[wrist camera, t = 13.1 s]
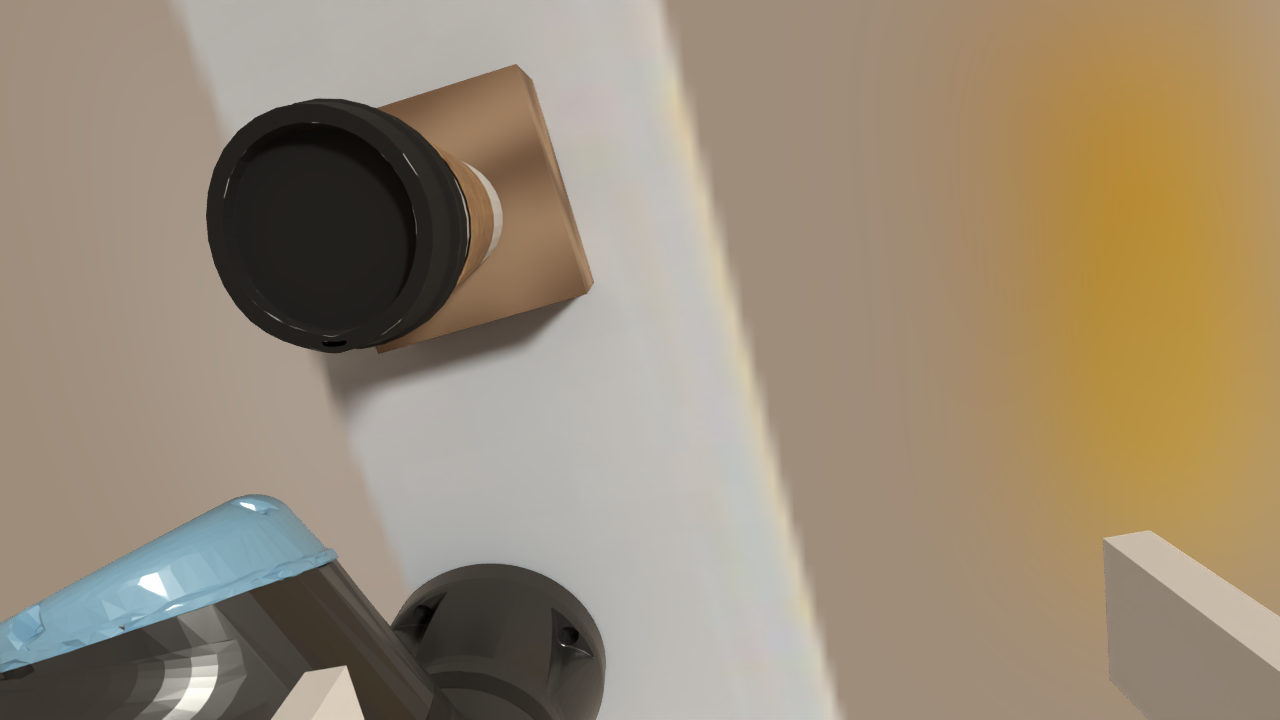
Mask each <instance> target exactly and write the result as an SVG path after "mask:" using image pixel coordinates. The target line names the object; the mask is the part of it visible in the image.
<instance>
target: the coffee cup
mask: <svg viewBox="0 0 1280 720" xmlns="http://www.w3.org/2000/svg"><path fill="white" fill-rule="evenodd" d="M206 220H207V231H208V241H209V244H210V248H211V253H212V257H213V260H214V264H215V266H216V269H217V271H218V273H219V276H220V278H221V280H222V283H223V285H224V287H225V288H226V290H227V292H228V293H229V295H230V296H231V298H232V300H233V301H234V303H235V304H236V306H237V307H238V308H239V309H240V310H241V311H242V312H243V313H244V315H245V316H246V317H247V318H248V319H249V320H250V321H251V322H252V323H254V324H255V325H257V326H258V327H259V328H261V329H262V330H263V331H265V332H266V333H269V334H270V335H272V336H274V337H276V338H278V339H280V340H282V341H285V342H288V343H291V344H294V345H296V346H300V347H304V348H307V349H311V350H316V351H321V352H326V353H341V352H345V351H349V350H352V349H363V348H368V347H374V346H379V345H384V344H387V343H389V342H391V341H394V340H396V339H399V338H401V337H404V336H405V335H407V334H408V333H410V332H412V331H413V330H415V329H417V328H418V327H420V326H421V325H423V324H424V323H426V322H427V321H429V320H430V319H431V318H432V317H433V316H434V315H435V314H436V313H437V312H438V311H439V310H440V309H441V308H442V307H443V306H444V304H445V303H446V301H447V300H448V298H449V297H450V295H451V293H452V292H453V291H454V290H455V289H456V288H457V287H458V286H459V285H460V284H461V283H462V282H463V281H464V280H465V279H466V278H467V277H468V276H469V275H470V274H471V273H472V272H473V271H474V270H475V269H476V268H477V267H478V266H479V265H481V264H482V263H483V262H484V261H485V260H486V259H487V258H488V257H489V256H490V255H491V254H492V252H493V250H494V249H495V247H496V246H497V244H498V241H499V238H500V236H501V231H502V226H503V212H502V208H501V203H500V200H499V198H498V196H497V193H496V191H495V189H494V188H493V186H492V185H491V183H490V182H489V181H488V180H487V179H486V178H485V176H484V175H483V174H482V173H481V172H479V171H478V170H476V169H475V168H473V167H472V166H470V165H469V164H467V163H464V162H462V161H460V160H459V159H457V158H456V157H454V156H453V155H451V154H449V153H448V152H446V151H444V150H443V149H441V148H439V147H438V146H436V145H435V144H433V143H431V142H430V141H428V140H426V139H425V138H424V137H423V136H422V135H421V134H420V133H419V132H418V131H416V130H415V129H413V128H412V127H411V126H409V125H408V124H406V123H405V122H403V121H402V120H400V119H399V118H397V117H395V116H393V115H390V114H388V113H386V112H383V111H381V110H379V109H377V108H373V107H370V106H368V105H365V104H360V103H356V102H352V101H348V100H344V99H313V100H308V101H303V102H298V103H294V104H292V105H288V106H283V107H278V108H275V109H273V110H271V111H268V112H266V113H264V114H262V115H260V116H258V117H256V118H254V119H253V120H252V121H250V122H249V123H248V124H247V125H245V126H244V127H243V128H241V129H240V130H239V131H238V132H237V133H236V134H235V136H234V137H233V138H232V139H231V141H230V142H229V143H228V144H227V145H226V147H225V148H224V150H223V152H222V154H221V156H220V158H219V160H218V162H217V164H216V166H215V168H214V171H213V175H212V178H211V182H210V186H209V191H208V199H207V212H206Z"/></svg>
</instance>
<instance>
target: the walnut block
mask: <svg viewBox="0 0 1280 720" xmlns="http://www.w3.org/2000/svg"><path fill="white" fill-rule="evenodd" d="M377 109H379V110H381V111H383V112H386V113H388V114H390V115H393V116H395V117H397V118H399V119H400V120H402V121H403V122H405V123H406V124H408V125H409V126H411V127H412V128H413V129H415V130H416V131H418V132H419V133H420V134H421V135H422V136H423V137H424V138H425V139H426V140H428V141H430V142H431V143H433V144H435V145H436V146H438V147H439V148H441V149H443V150H444V151H446V152H448V153H449V154H451V155H453V156H454V157H456V158H457V159H459V160H460V161H462V162H464V163H467V164H469V165H470V166H472V167H473V168H475V169H476V170H478V171H479V172H481V173H482V174H483V175H484V176H485V178H486V179H487V180H488V181H489V182H490V183H491V185H492V186H493V188H494V189H495V191H496V193H497V196H498V198H499V200H500V203H501V208H502V212H503V226H502V231H501V236H500V238H499V241H498V244H497V246H496V247H495V249H494V250H493V252H492V254H491V255H490V256H489V257H488V258H487V259H486V260H485V261H484V262H483V263H482V264H481V265H479V266H478V267H477V268H476V269H475V270H474V271H473V272H472V273H471V274H470V275H469V276H468V277H467V278H466V279H465V280H464V281H463V282H462V283H461V284H460V285H459V286H458V287H457V288H456V289H455V290H454V291H453V292H452V293H451V295H450V297H449V298H448V300H447V301H446V303H445V304H444V306H443V307H442V308H441V309H440V310H439V311H438V312H437V313H436V314H435V315H434V316H433V317H432V318H431V319H430V320H429V321H427V322H426V323H424V324H423V325H421V326H420V327H418V328H417V329H415V330H413V331H412V332H410V333H408V334H407V335H405V336H404V337H401V338H399V339H396V340H394V341H391V342H389V343H387V344H384V345H379V346H376V349H377V351H378V354H380V353H383V352H387V351H390V350H393V349H397V348H400V347H404V346H407V345H411V344H414V343H418V342H421V341H425V340H428V339H432V338H435V337H439V336H442V335H446V334H449V333H453V332H456V331H459V330H463V329H466V328H470V327H473V326H477V325H480V324H484V323H487V322H491V321H494V320H498V319H501V318H505V317H508V316H512V315H515V314H518V313H522V312H525V311H529V310H532V309H536V308H539V307H543V306H546V305H550V304H553V303H557V302H560V301H564V300H567V299H571V298H574V297H578V296H581V295H584V294H587V293H588V291H589V290H590V288H591V286H592V285H593V283H594V281H593V278H592V275H591V271H590V268H589V265H588V261H587V258H586V255H585V252H584V248H583V245H582V242H581V238H580V235H579V232H578V229H577V225H576V222H575V219H574V215H573V212H572V209H571V206H570V202H569V199H568V196H567V192H566V189H565V186H564V183H563V179H562V176H561V173H560V169H559V166H558V163H557V160H556V156H555V153H554V150H553V147H552V143H551V140H550V137H549V133H548V130H547V127H546V124H545V120H544V117H543V114H542V110H541V107H540V104H539V101H538V97H537V94H536V91H535V87H534V84H533V81H532V79H531V78H530V77H529V76H528V75H527V74H526V73H525V72H524V71H523V70H522V69H521V68H520V67H519V66H518V65H517V64H515V65H512V66H508V67H505V68H502V69H499V70H496V71H493V72H490V73H486V74H483V75H480V76H477V77H474V78H471V79H467V80H464V81H461V82H458V83H455V84H452V85H448V86H445V87H442V88H439V89H436V90H433V91H429V92H426V93H423V94H420V95H417V96H414V97H410V98H407V99H404V100H401V101H398V102H395V103H391V104H388V105H385V106H382V107H379V108H377Z"/></svg>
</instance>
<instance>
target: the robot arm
mask: <svg viewBox="0 0 1280 720" xmlns="http://www.w3.org/2000/svg"><path fill="white" fill-rule="evenodd" d="M1103 553H1104V573H1105V593H1106V613H1107V632H1108V633H1107V634H1108V653H1109V674H1110V680H1111V681H1112V682H1113V684H1114V685H1115V686H1116V687H1117V688H1118V689H1119V690H1120V691H1121V692H1122V693H1123V694H1124V695H1125V696H1126V697H1127V698H1128V699H1129V700H1130V701H1131V702H1132V703H1133V705H1134V706H1135V707H1136V708H1137V709H1138V710H1139V711H1140V712H1141V713H1142V714H1143V715H1144V716H1145V717H1146V718H1147V719H1148V720H1280V617H1279V616H1278V615H1276V614H1274V613H1273V612H1272V611H1270V610H1268V609H1267V608H1265V607H1264V606H1263V605H1261V604H1259V603H1258V602H1257V601H1255V600H1254V599H1252V598H1250V597H1249V596H1248V595H1246V594H1245V593H1243V592H1241V591H1240V590H1239V589H1237V588H1236V587H1234V586H1232V585H1231V584H1230V583H1228V582H1226V581H1225V580H1224V579H1222V578H1220V577H1219V576H1218V575H1216V574H1215V573H1213V572H1212V571H1210V570H1208V569H1207V568H1205V567H1204V566H1203V565H1201V564H1200V563H1198V562H1197V561H1195V560H1193V559H1192V558H1191V557H1189V556H1188V555H1186V554H1184V553H1183V552H1182V551H1180V550H1178V549H1177V548H1176V547H1174V546H1173V545H1171V544H1169V543H1168V542H1167V541H1165V540H1164V539H1162V538H1161V537H1159V536H1158V535H1156V534H1155V533H1153V532H1151V531H1150V530H1148V531H1142V532H1136V533H1131V534H1125V535H1119V536H1113V537H1107V538H1103ZM337 557H338V555H337V554H336V552H335V551H334V550H333V549H328V548H326V547H325V546H324V545H323V544H322V543H321V542H320V540H319V539H318V538H317V537H316V536H315V535H314V534H313V533H312V532H311V531H310V530H309V529H308V528H307V527H306V525H305V524H304V523H303V522H302V521H301V520H300V519H299V518H298V517H297V516H296V515H295V514H294V513H293V511H292V510H291V509H290V508H289V507H288V506H287V505H286V504H284V503H283V502H281V501H280V500H278V499H276V498H273V497H270V496H266V495H246V496H241V497H237V498H234V499H232V500H230V501H228V502H226V503H224V504H222V505H220V506H218V507H216V508H214V509H212V510H210V511H208V512H206V513H204V514H202V515H201V516H198V517H197V518H195V519H193V520H191V521H189V522H187V523H185V524H183V525H181V526H180V527H178V528H176V529H174V530H172V531H170V532H168V533H166V534H164V535H162V536H161V537H159V538H157V539H155V540H153V541H151V542H149V543H147V544H145V545H144V546H142V547H140V548H138V549H136V550H134V551H132V552H130V553H129V554H127V555H125V556H123V557H121V558H119V559H117V560H116V561H114V562H112V563H110V564H108V565H106V566H104V567H102V568H101V569H99V570H97V571H95V572H93V573H91V574H89V575H88V576H86V577H84V578H82V579H80V580H78V581H76V582H75V583H73V584H71V585H69V586H67V587H65V588H63V589H62V590H60V591H58V592H56V593H54V594H53V595H51V596H49V597H47V598H45V599H44V600H42V601H40V602H38V603H36V604H34V605H32V606H30V607H28V608H27V609H25V610H23V611H21V612H19V613H17V614H16V615H14V616H12V617H10V618H8V619H6V620H4V621H3V622H1V623H0V720H596V718H597V715H598V712H599V709H600V706H601V703H602V698H603V692H604V681H605V670H606V659H605V650H604V645H603V641H602V638H601V635H600V632H599V630H598V628H597V626H596V624H595V622H594V620H593V618H592V617H591V615H590V614H589V612H588V611H587V609H586V608H585V607H584V606H583V605H582V603H581V602H580V601H579V600H578V599H577V598H576V597H575V596H574V595H573V594H572V593H570V592H569V591H568V590H567V589H565V588H564V587H563V586H561V585H560V584H558V583H557V582H555V581H553V580H552V579H550V578H548V577H546V576H544V575H542V574H539V573H537V572H534V571H531V570H528V569H525V568H521V567H517V566H512V565H505V564H476V565H470V566H465V567H460V568H457V569H454V570H451V571H448V572H446V573H443V574H441V575H439V576H437V577H435V578H433V579H432V580H430V581H428V582H427V583H426V584H424V585H423V586H421V587H420V588H419V589H418V590H417V591H416V592H415V593H414V594H412V595H411V597H410V598H409V599H408V600H407V601H406V603H405V604H404V605H403V607H402V608H401V610H400V611H399V613H398V615H397V616H396V618H395V620H394V622H393V623H392V625H391V626H389V624H388V623H387V622H386V621H385V620H384V618H383V617H382V616H381V615H380V613H379V612H378V611H377V610H376V609H375V607H374V606H373V605H372V604H371V603H370V601H369V600H368V599H367V598H366V596H365V595H364V594H363V593H362V591H361V590H360V589H359V588H358V587H357V585H356V584H355V583H354V581H353V580H352V579H351V577H350V576H349V575H348V574H347V572H346V571H345V570H344V568H342V566H341V565H340V563H339V562H338V561H337V559H336V558H337Z"/></svg>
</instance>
